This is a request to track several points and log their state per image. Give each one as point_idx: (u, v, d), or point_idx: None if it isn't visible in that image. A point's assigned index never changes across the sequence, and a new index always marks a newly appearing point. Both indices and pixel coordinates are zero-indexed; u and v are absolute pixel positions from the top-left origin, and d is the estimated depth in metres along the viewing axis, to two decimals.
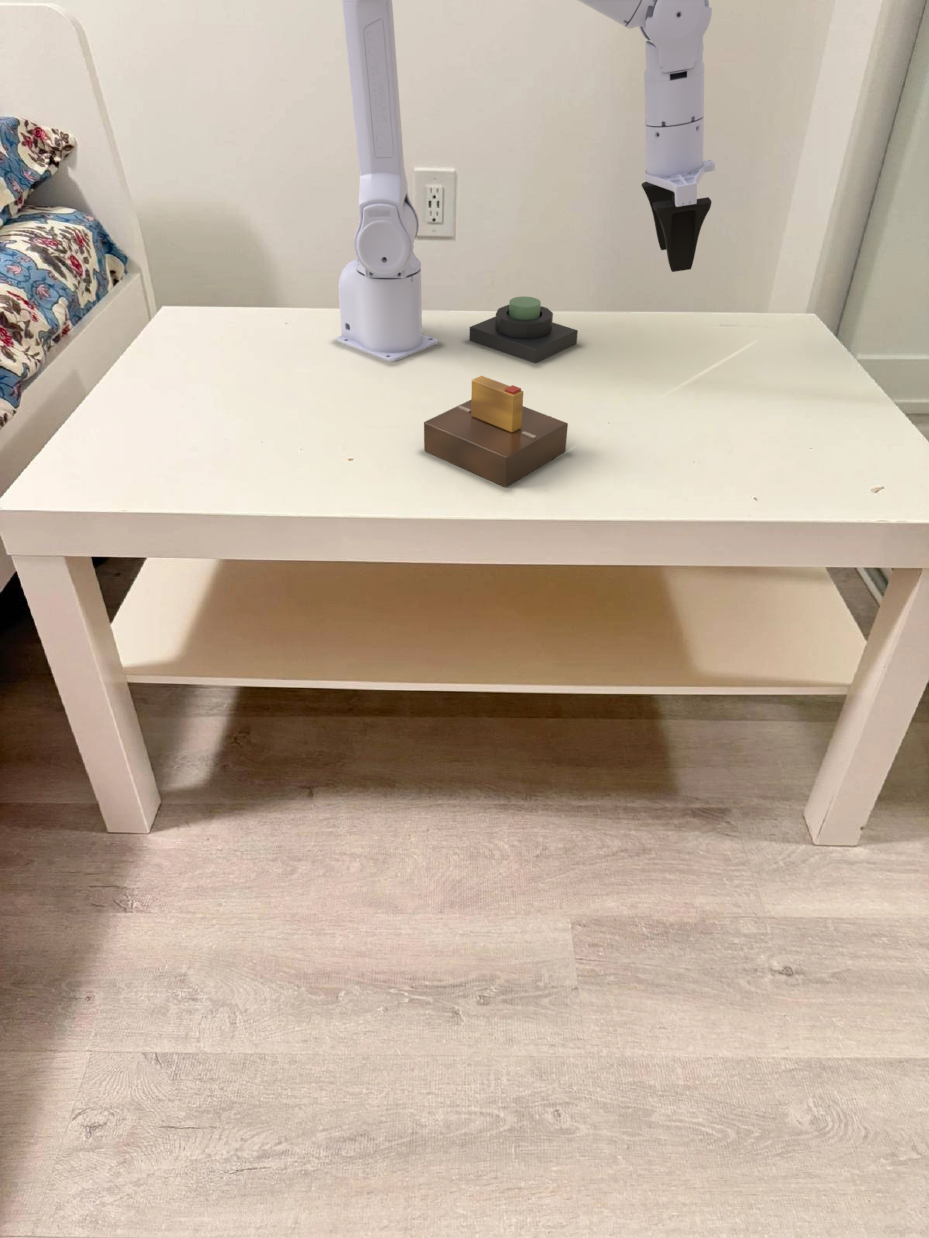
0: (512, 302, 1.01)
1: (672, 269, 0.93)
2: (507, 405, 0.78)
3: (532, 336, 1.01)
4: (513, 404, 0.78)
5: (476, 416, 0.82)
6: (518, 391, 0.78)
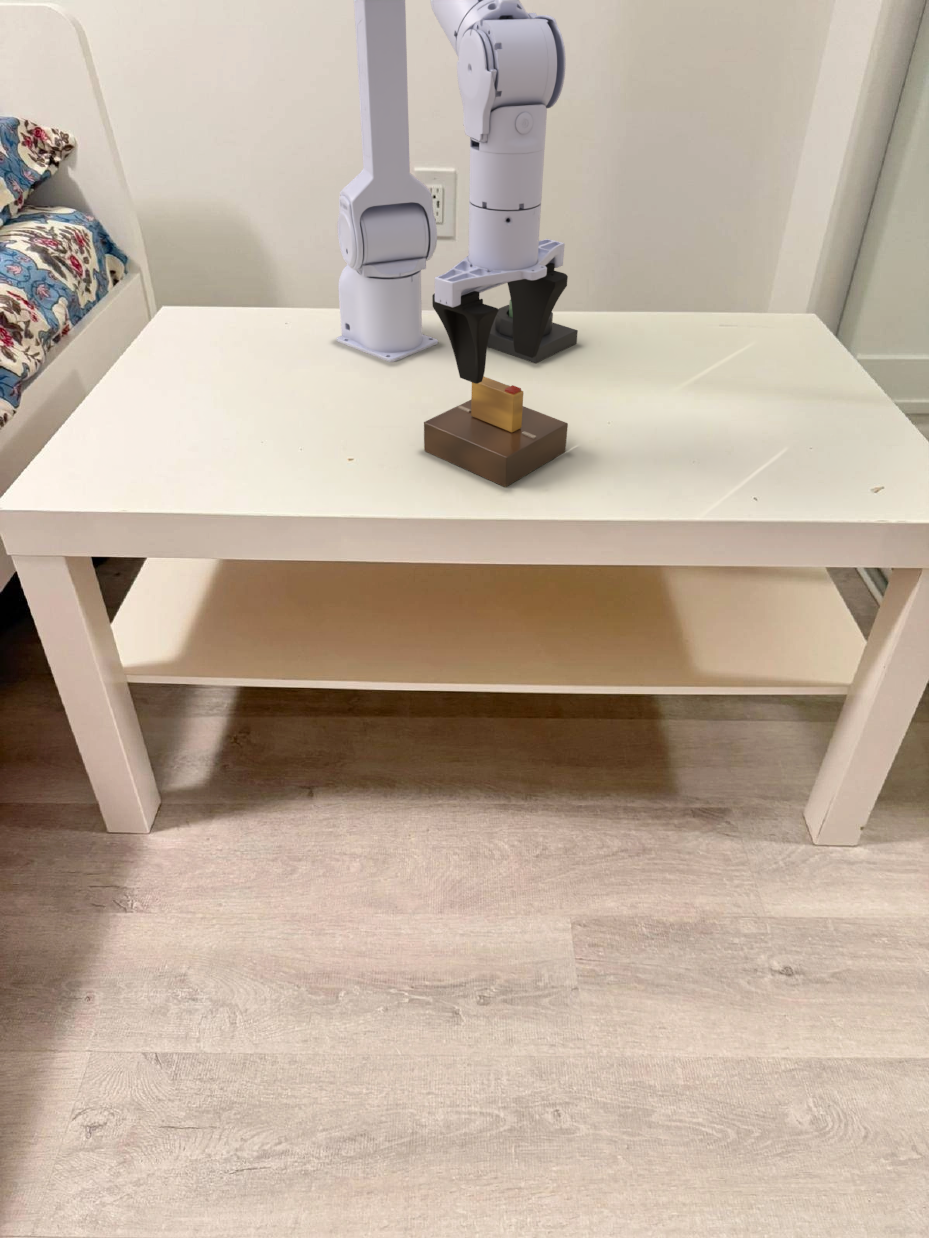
0: None
1: (459, 374, 0.76)
2: (507, 405, 0.78)
3: None
4: (513, 404, 0.78)
5: (476, 416, 0.82)
6: (518, 391, 0.78)
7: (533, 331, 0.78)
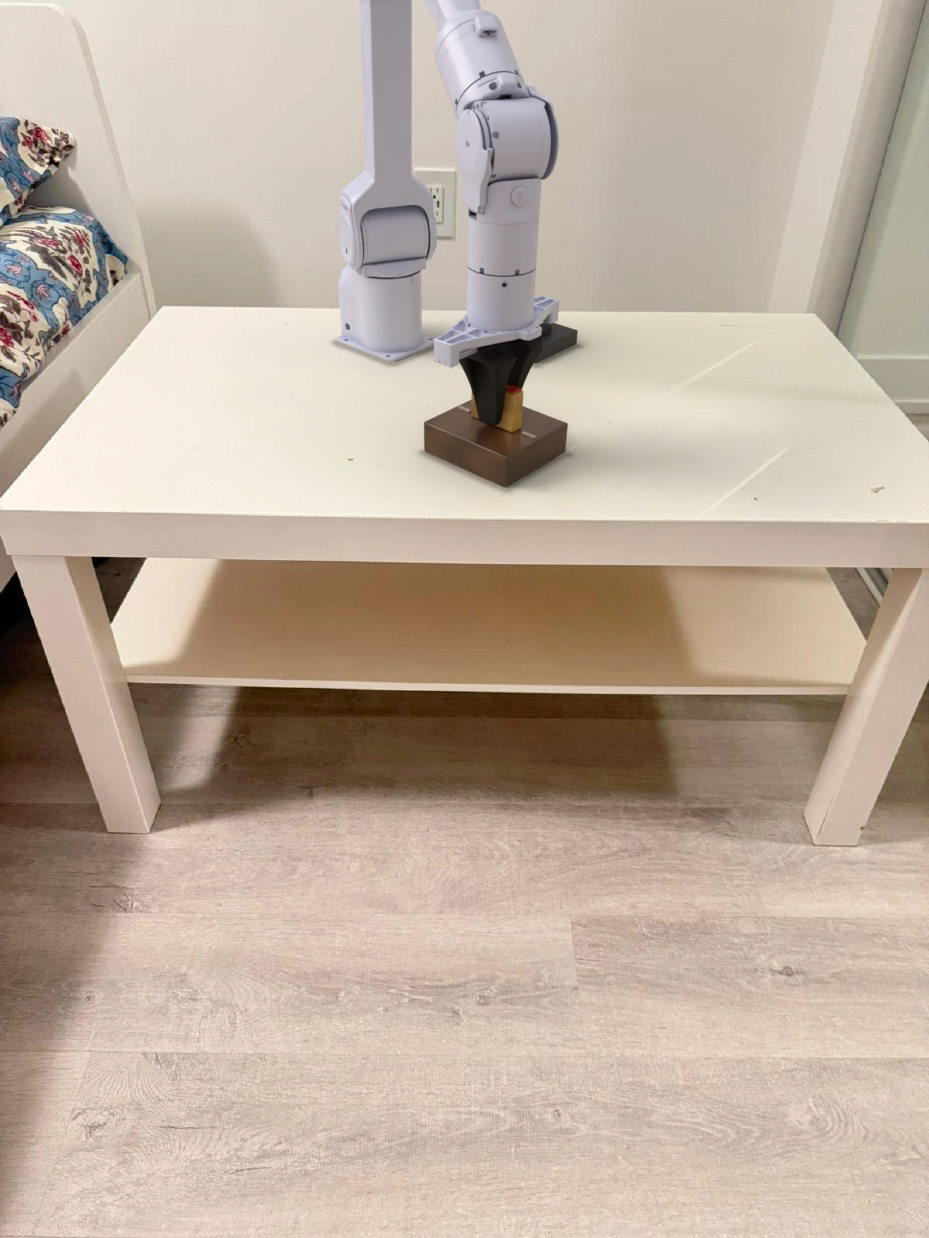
0: None
1: (478, 416, 0.81)
2: (507, 405, 0.78)
3: None
4: (513, 404, 0.78)
5: (476, 416, 0.82)
6: (518, 391, 0.78)
7: None
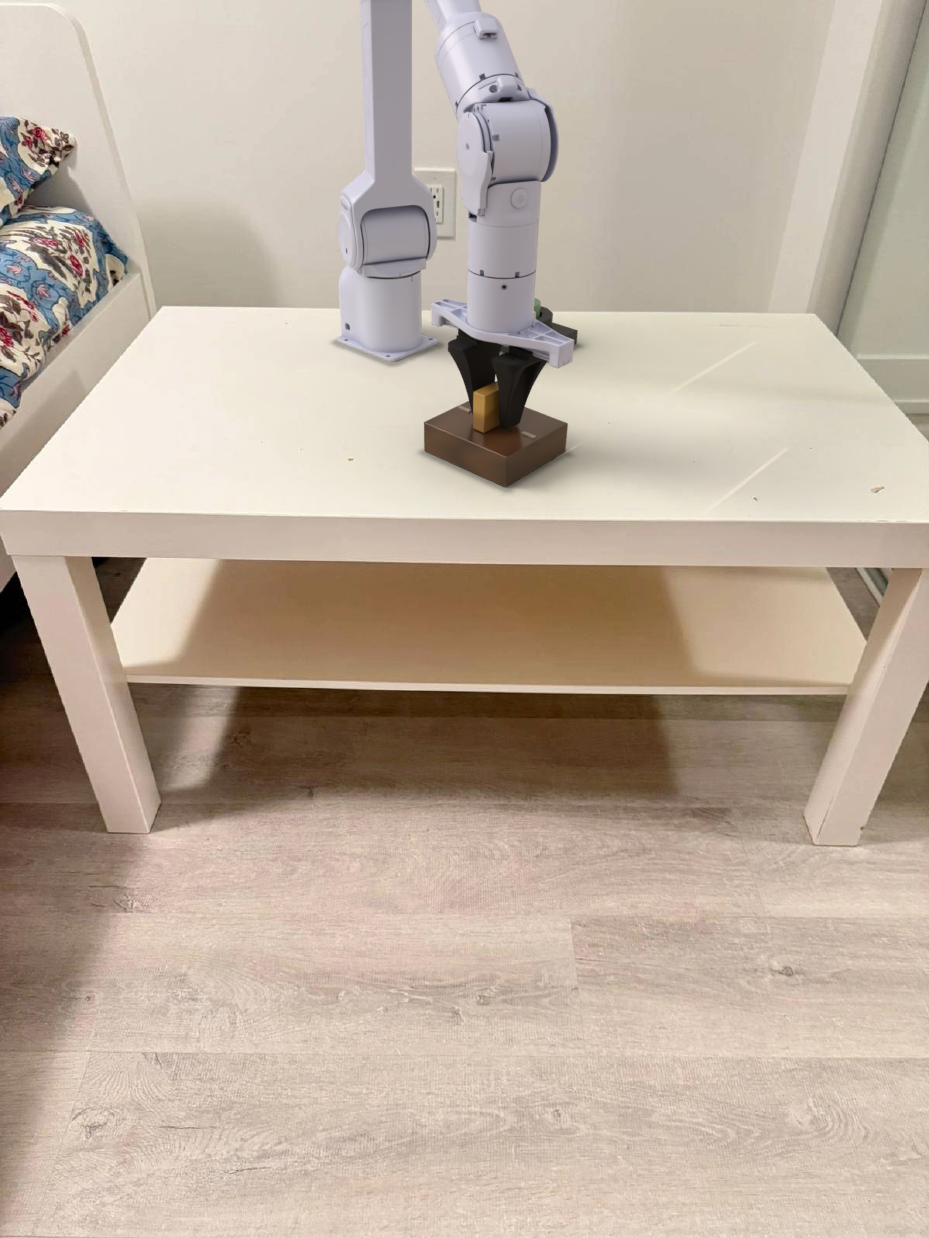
0: None
1: (506, 426, 0.79)
2: None
3: None
4: None
5: (489, 428, 0.80)
6: None
7: None
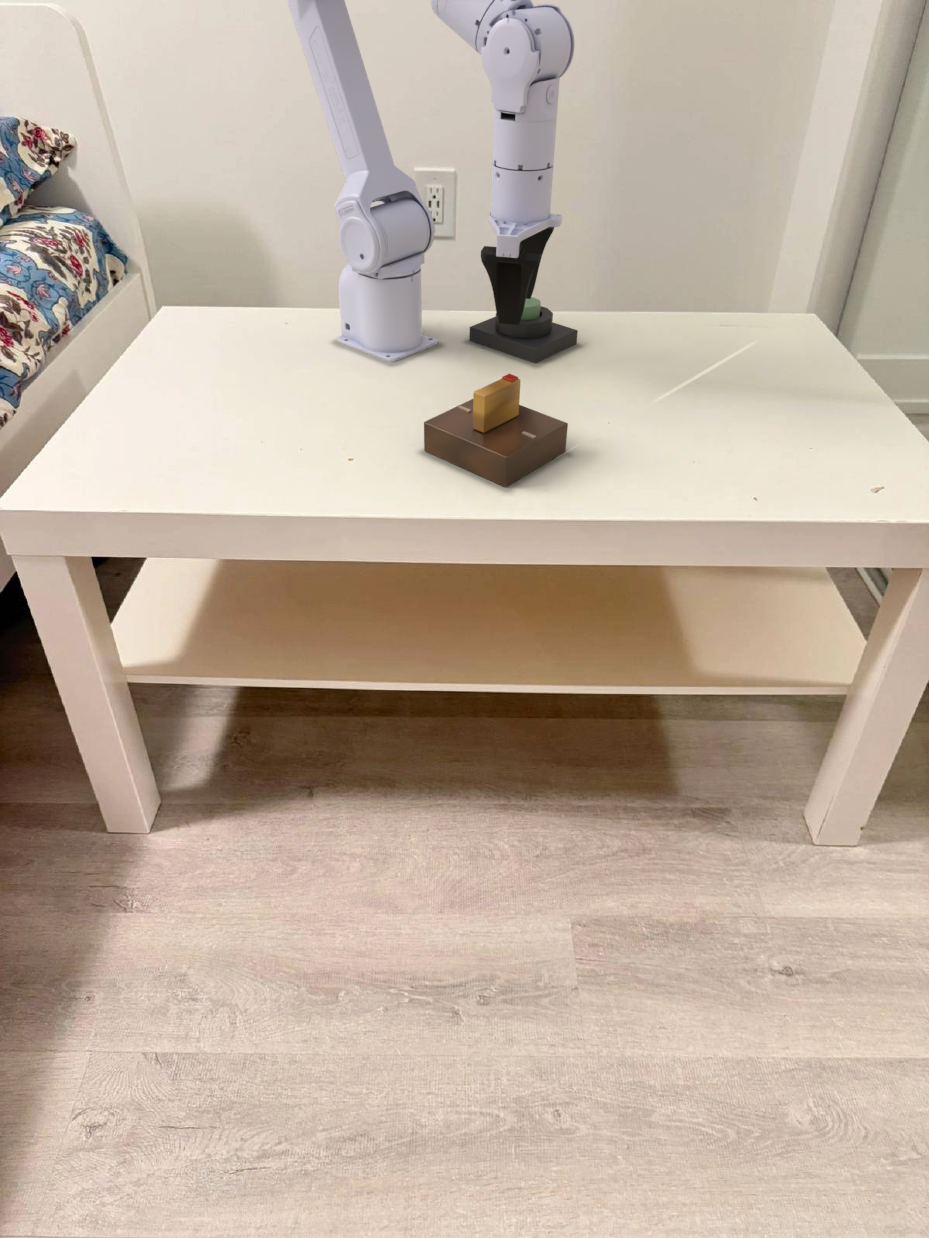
0: None
1: (499, 320, 0.87)
2: (515, 393, 0.80)
3: (532, 336, 1.01)
4: (519, 387, 0.81)
5: (489, 428, 0.80)
6: None
7: None
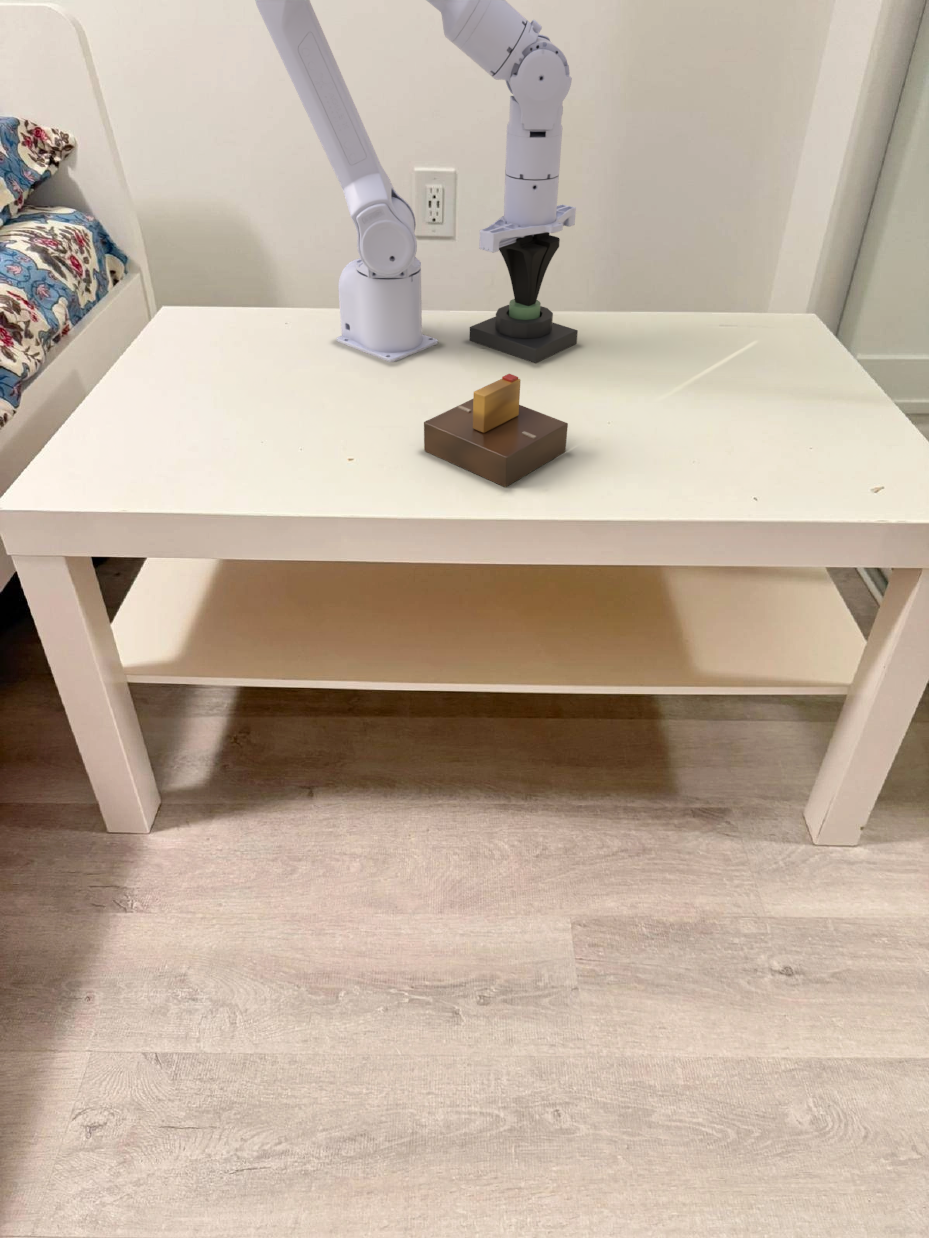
0: (512, 303, 1.01)
1: (515, 300, 1.01)
2: (515, 393, 0.80)
3: (532, 336, 1.01)
4: (519, 387, 0.81)
5: (489, 428, 0.80)
6: None
7: None
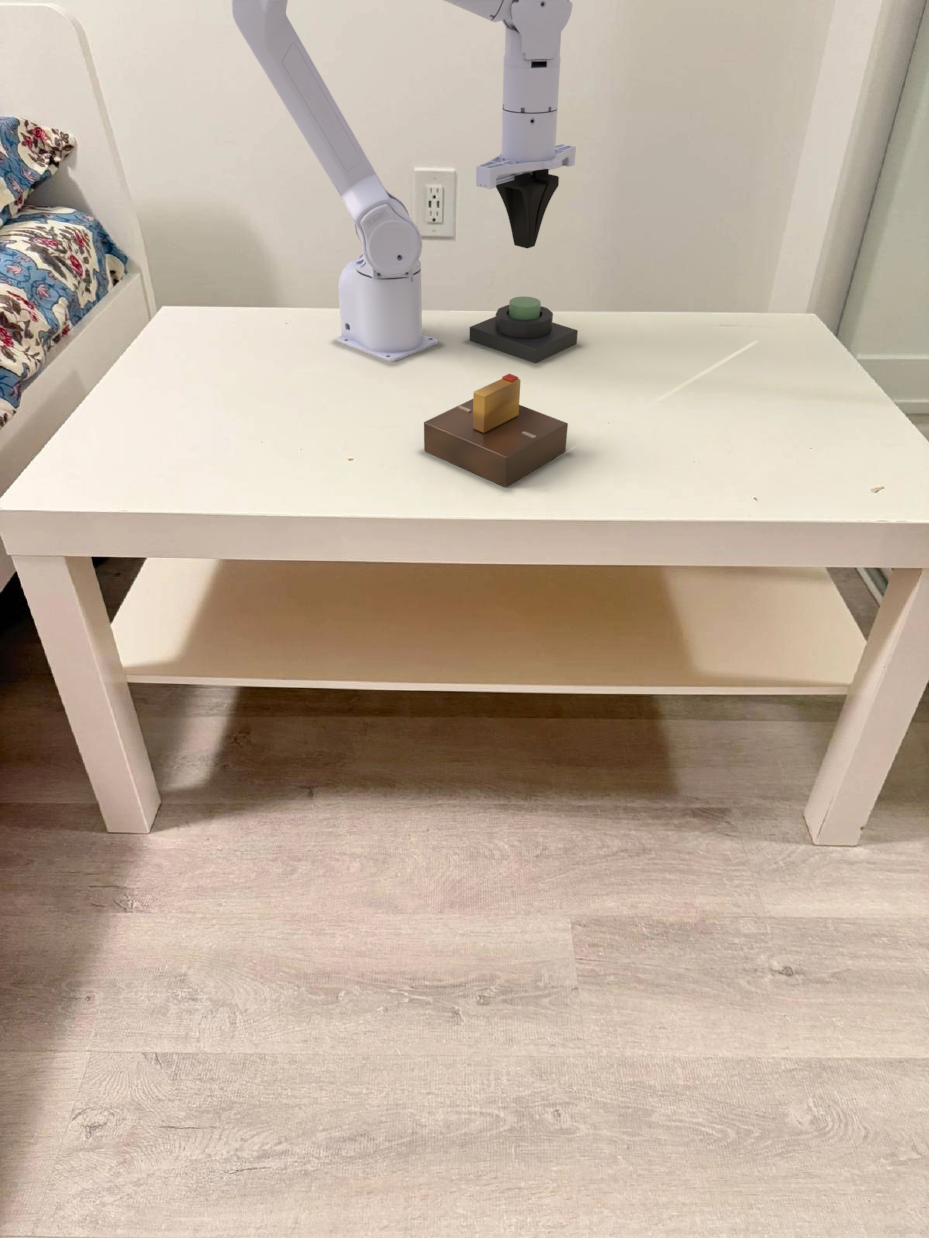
0: (512, 302, 1.01)
1: (514, 242, 1.00)
2: (515, 393, 0.80)
3: (532, 336, 1.01)
4: (519, 387, 0.81)
5: (489, 428, 0.80)
6: None
7: None
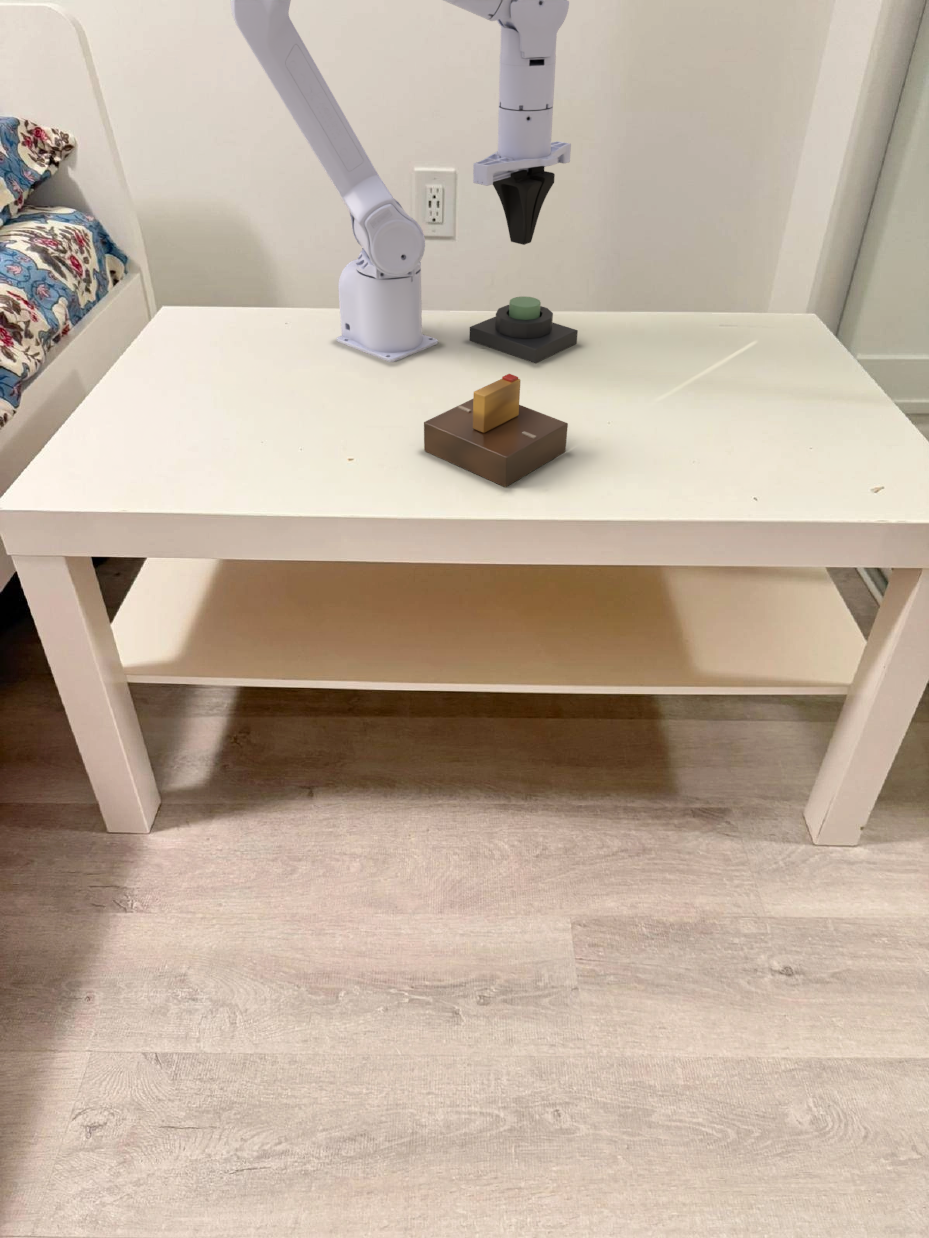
0: (512, 302, 1.01)
1: (510, 239, 1.01)
2: (515, 393, 0.80)
3: (532, 336, 1.01)
4: (519, 387, 0.81)
5: (489, 428, 0.80)
6: None
7: None
